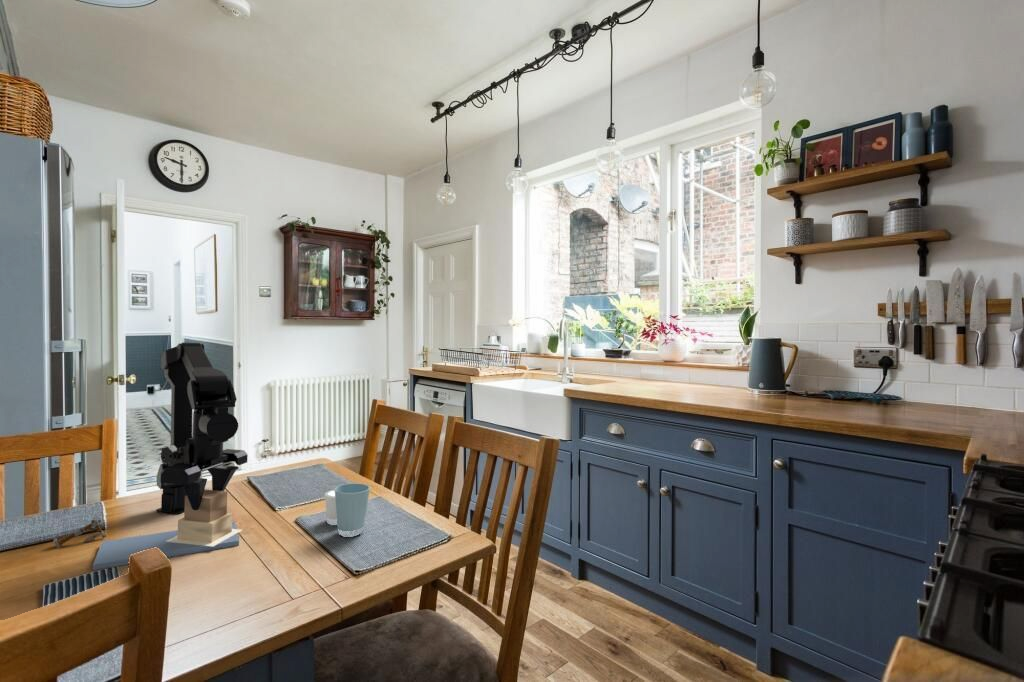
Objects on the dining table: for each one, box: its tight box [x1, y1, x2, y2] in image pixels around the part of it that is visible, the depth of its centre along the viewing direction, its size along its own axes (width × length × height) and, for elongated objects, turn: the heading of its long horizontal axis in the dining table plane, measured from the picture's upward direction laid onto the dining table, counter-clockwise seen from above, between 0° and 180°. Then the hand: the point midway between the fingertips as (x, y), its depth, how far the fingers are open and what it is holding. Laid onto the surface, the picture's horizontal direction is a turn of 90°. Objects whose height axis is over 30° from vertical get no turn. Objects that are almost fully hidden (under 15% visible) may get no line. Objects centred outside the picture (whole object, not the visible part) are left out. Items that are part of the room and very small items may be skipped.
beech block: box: [177, 512, 233, 543], centre depth 108 cm, size 6×8×4 cm
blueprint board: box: [92, 521, 243, 571], centre depth 105 cm, size 25×14×1 cm, turn 123°
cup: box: [334, 482, 371, 531], centre depth 115 cm, size 8×8×10 cm
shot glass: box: [324, 489, 337, 519], centre depth 122 cm, size 7×7×7 cm
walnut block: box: [183, 489, 228, 522], centre depth 108 cm, size 5×6×5 cm
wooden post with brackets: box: [53, 518, 107, 549], centre depth 105 cm, size 2×8×4 cm, turn 130°
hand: (205, 505), depth 108 cm, fingers open, 6 cm apart
